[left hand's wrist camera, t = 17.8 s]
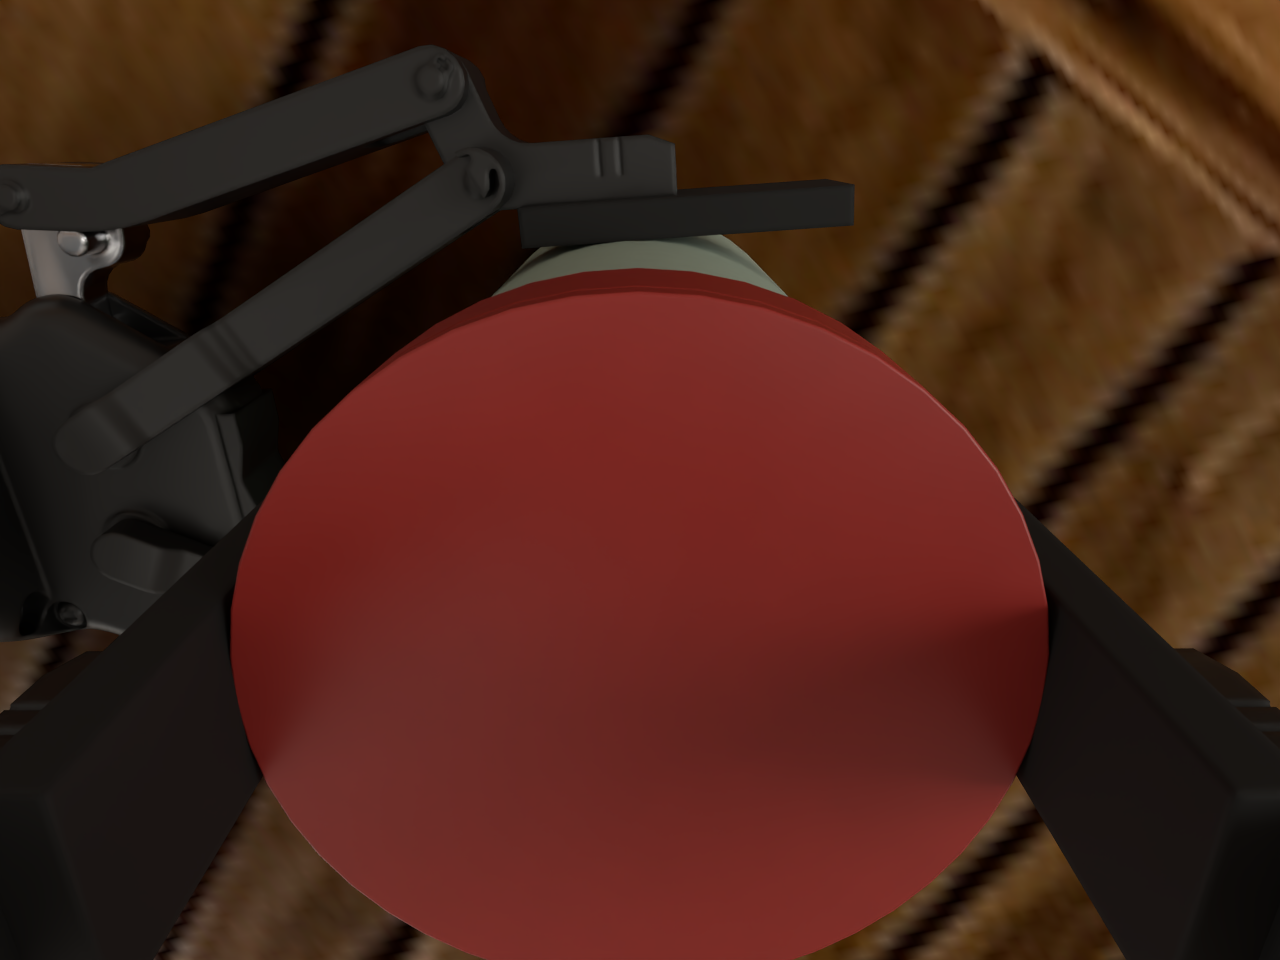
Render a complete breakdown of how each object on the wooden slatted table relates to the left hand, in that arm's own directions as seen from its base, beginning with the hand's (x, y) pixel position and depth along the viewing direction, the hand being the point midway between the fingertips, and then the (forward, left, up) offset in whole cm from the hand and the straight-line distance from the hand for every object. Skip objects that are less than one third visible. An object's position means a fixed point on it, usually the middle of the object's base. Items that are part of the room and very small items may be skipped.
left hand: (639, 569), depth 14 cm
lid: (0, 0, +3) cm, 3 cm away
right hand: (+2, -4, -6) cm, 8 cm away
